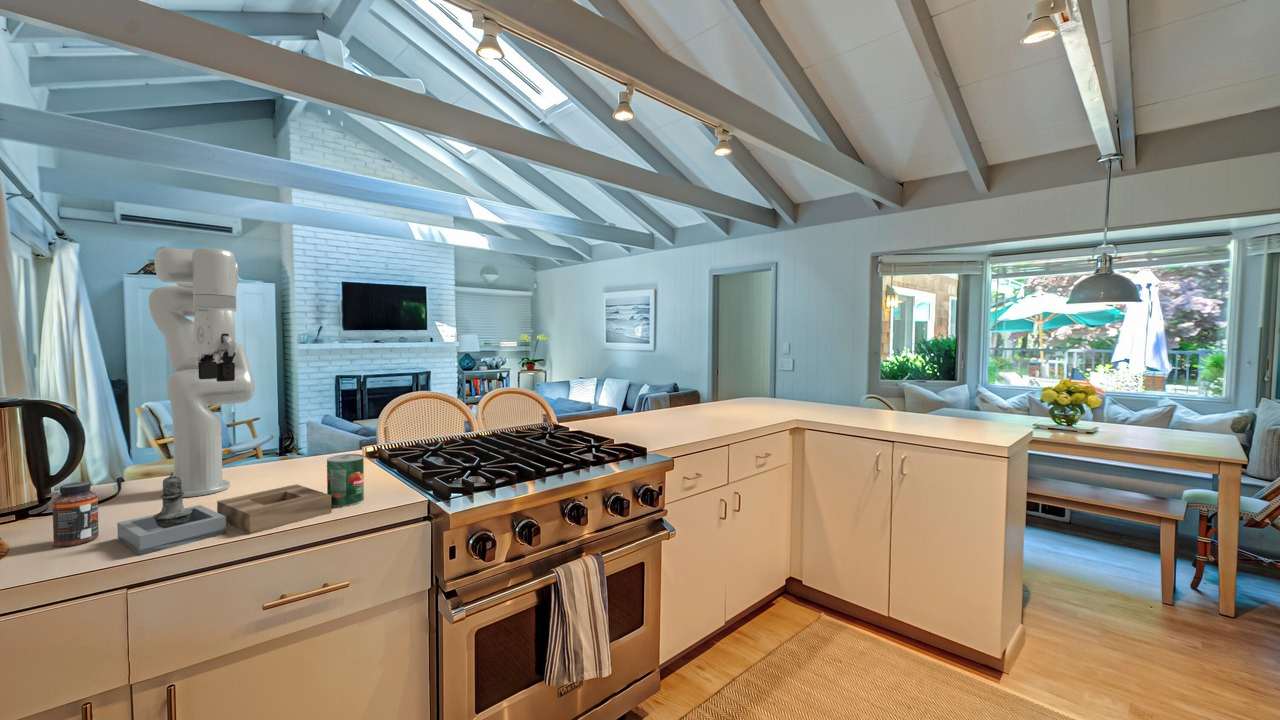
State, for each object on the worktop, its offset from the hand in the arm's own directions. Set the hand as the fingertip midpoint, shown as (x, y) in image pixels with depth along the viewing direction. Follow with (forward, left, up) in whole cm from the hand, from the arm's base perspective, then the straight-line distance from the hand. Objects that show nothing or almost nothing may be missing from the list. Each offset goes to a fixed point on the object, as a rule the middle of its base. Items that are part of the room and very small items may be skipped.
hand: (216, 380), depth 117 cm
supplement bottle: (-2, -22, -31) cm, 38 cm away
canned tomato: (+16, +20, -31) cm, 40 cm away
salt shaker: (+10, -11, -30) cm, 33 cm away
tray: (+10, -11, -30) cm, 34 cm away
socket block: (+13, +6, -30) cm, 34 cm away
